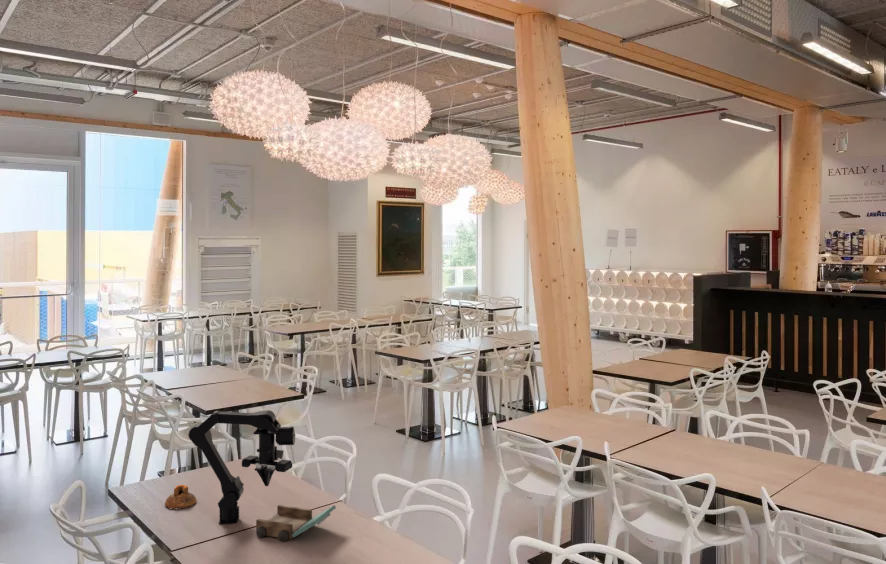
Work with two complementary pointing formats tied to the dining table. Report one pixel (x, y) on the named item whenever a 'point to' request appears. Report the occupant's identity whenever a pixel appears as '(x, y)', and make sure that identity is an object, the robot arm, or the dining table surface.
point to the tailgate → (314, 521)
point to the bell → (180, 498)
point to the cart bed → (283, 522)
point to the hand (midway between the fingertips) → (266, 485)
